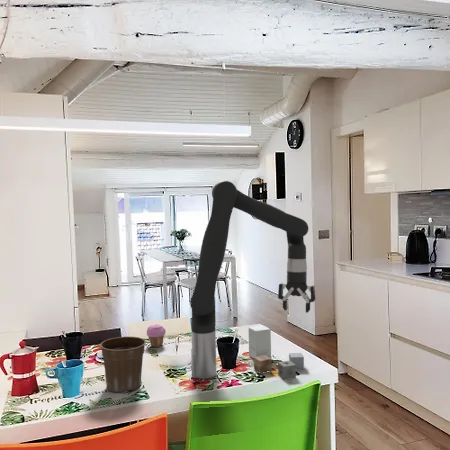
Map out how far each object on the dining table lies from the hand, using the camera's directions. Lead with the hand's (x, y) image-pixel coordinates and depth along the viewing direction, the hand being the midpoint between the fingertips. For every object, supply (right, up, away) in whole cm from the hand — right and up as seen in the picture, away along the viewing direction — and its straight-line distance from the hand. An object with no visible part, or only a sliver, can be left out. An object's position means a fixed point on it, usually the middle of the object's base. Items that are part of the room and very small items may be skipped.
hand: (296, 311), depth 172 cm
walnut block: (-13, -24, +1) cm, 27 cm away
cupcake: (-60, -23, +35) cm, 73 cm away
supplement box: (-13, -23, +16) cm, 31 cm away
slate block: (+1, -23, +4) cm, 24 cm away
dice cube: (-4, -24, -5) cm, 25 cm away
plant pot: (-65, -25, -12) cm, 70 cm away
